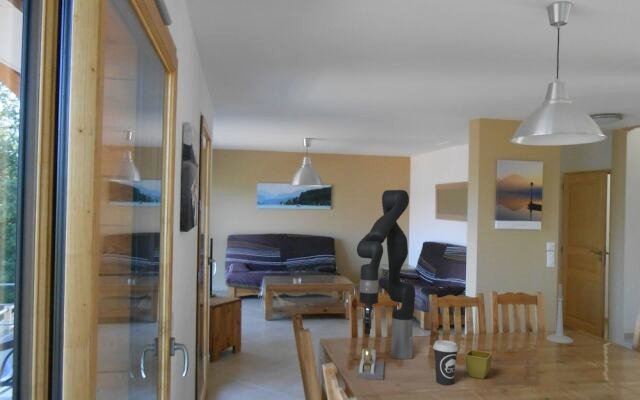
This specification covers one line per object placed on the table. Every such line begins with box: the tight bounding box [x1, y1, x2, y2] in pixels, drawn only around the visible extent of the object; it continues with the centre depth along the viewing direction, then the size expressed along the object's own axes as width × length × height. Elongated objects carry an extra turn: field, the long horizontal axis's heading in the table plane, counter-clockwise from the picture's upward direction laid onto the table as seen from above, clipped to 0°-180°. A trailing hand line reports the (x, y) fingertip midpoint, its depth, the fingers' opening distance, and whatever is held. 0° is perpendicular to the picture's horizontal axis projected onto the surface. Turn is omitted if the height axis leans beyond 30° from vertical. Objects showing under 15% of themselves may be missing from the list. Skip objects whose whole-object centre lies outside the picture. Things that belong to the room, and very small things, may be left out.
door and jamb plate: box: [356, 348, 385, 380], centre depth 196 cm, size 10×21×6 cm, turn 171°
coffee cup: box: [432, 339, 460, 386], centre depth 184 cm, size 10×10×15 cm
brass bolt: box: [363, 347, 372, 371], centre depth 194 cm, size 3×8×8 cm, turn 171°
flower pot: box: [464, 349, 493, 380], centre depth 192 cm, size 9×9×9 cm
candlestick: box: [545, 283, 574, 344], centre depth 253 cm, size 13×13×30 cm
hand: (367, 331), depth 192 cm, fingers open, 8 cm apart
